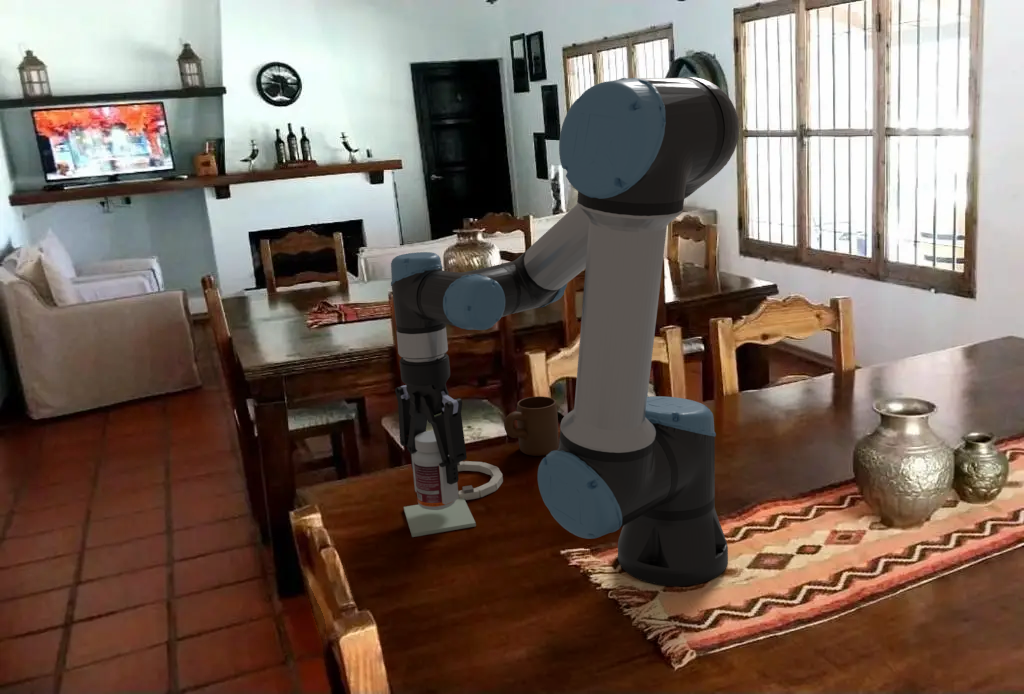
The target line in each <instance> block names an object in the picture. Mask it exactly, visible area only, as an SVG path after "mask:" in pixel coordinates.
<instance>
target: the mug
mask: <svg viewBox="0 0 1024 694" xmlns="http://www.w3.org/2000/svg"><path fill="white" fill-rule="evenodd" d="M558 419H559V417H558V406H557V401H556V399H554V398H552V397H548V396H528V397H525V398H522V399H520V400H519V401H517V402H516V410H515V411H512V412H509V414H508V415H506V417H505V418H504V423H503V426H504V427H503V428H504V431H505V433H506V434H507V436H509V437H510V438H511V439H518V445H519V446H518V448H519V451H520V452H521V453H523V454H524V455H528V456H534V457H539V456H540V457H541V456H542V457H543V456H547V455H548V454H549V453H550V452H551V451H555V450H558V448H559V438H560V436H559V420H558ZM515 421H516V425H517V428H514V422H515Z"/></svg>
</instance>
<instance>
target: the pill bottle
mask: <svg viewBox="0 0 1024 694" xmlns="http://www.w3.org/2000/svg"><path fill="white" fill-rule="evenodd" d="M415 447H416V450H417V452H416V453H415V454H414V468H415V478H416V488H417V492H416V495H417V503H418V504H419V505H420V506H421V507H422V508H424V509H428V510H441V509H445V508H448V507H450V506H451V505H453V504H454V503H455V501H456V500H455V501H452V502H450V503H448V504H446V505H445V504H443V503H442V493H441V482H440V471H439V463H442V459H441V455H440V452H439V448H438V445H437V441H436V438H435V434H434V431H433V430H426V432H422V433H420V434H418V435H417V436H416V437H415ZM448 456H449V455H448ZM418 504H417V505H418Z"/></svg>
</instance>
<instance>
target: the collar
mask: <svg viewBox="0 0 1024 694" xmlns="http://www.w3.org/2000/svg"><path fill="white" fill-rule="evenodd" d="M457 466H458V472H463V471H466V472H468V471H469V472H480V473H483V474H485V475H489V476H490V477H491V478H490V480H489V481H488V482H486V483H483V484H482V485H480V486H477V487H473V485H472V484H471V485H465V486H462V487H461V488H462V489H461V490H458V496H459V498H461V497H464V499H465V501H469V500H475V499H480V498H483V497H485V496H487V495H490V494H492V493H494V492H496V491H497V490H498V489H499V488H500V487H501V485H502V484H503V483H504V477H503V476H504V475H503V473H502V471H501V470H500V468H499V467H498V466H496V465H493V464H490V463H487V462H483V461H469V460H463V461H461V462H459V463H457Z"/></svg>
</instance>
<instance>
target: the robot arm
mask: <svg viewBox="0 0 1024 694" xmlns="http://www.w3.org/2000/svg"><path fill="white" fill-rule="evenodd" d="M739 126H740V124H739V118H738V114H737V110H736V108H735V105H734V103H733V102H732V100H731V98H730V97H729V95H728V94H727V93H725V92H724V91H723V89H722V88H721V87H719V85H716V84H714V83H712V82H711V81H709V80H707V79H704V78H700V77H694V76H679V77H652V78H651V77H649V78H648V77H647V78H646V77H644V78H642V77H640V78H639V77H627V78H626V77H621V78H619V79H615V80H609V81H603V82H600V83H597V84H594V85H592V86H591V87H589V88H587V89H586V90H585V91H584V92H583V93H582V94H580V96H579V97H578V98H576V99H575V101H574V102H573V103H572V104H571V106H570V108H569V109H568V111H567V113H566V115H565V117H564V120H563V122H562V125H561V130H560V134H559V142H558V143H559V144H558V152H559V160H560V166H561V168H562V169H564V170H565V171H566V174H565V178H566V180H567V181H568V182H569V184H570V185H571V186H572V187H573V188H574V189H575V190H576V191H577V200H576V201H577V202H576V204H575V206H573V207H572V208H571V209H570V210H569V211H568V212H566V214H564V216H563V217H561V218H559V220H558V221H557V222H556V223H555V224H554V225H553V226H551V227H550V228H549V229H548V230H547V231H546V232H545V233H543V234H542V236H541V237H539V238H538V239H537V240H536V241H535V242H534V243H533V244H532V245H531V246H529V248H527V250H525V251H524V252H523V253H522V254H521V255H520V256H519V257H517V258H516V259H515V260H512V261H509V262H508V261H507V262H504V263H501V264H496V265H493V266H487V267H483V268H477V269H474V270H468V271H463V272H457V271H456V272H455V271H446V270H443V264H442V260H441V257H440V255H439V254H437V253H435V252H430V251H429V252H428V251H423V252H422V251H421V252H420V251H419V252H418V251H417V252H410V253H409V252H408V253H403V254H398V255H397V256H395V257H393V259H392V260H391V262H390V273H391V281H390V286H391V293H392V301H393V309H394V319H395V326H396V343H397V354H398V355H399V357H401V358H400V359H399V369H400V380H401V381H402V383H404V384H405V385H404V384H403V385H401V386H397V387H395V389H394V392H395V395H396V399H397V408H398V427H399V443H400V445H401V446H402V447H406V448H407V451H408V452H409V454H410V462H411V463H410V464H411V465H410V466H411V469H412V472H413V473H412V475H413V484H414V492H415V493H417V488H416V478H415V468H414V454H415V453H416V452H417V450H416V447H415V437H416V436H417V435H418V434H420V433H422V432H426V431H427V426H428V425H427V424H428V423H429V424H430V425H431V427H432V431H434V434H435V438H436V441H437V445H438V448H439V452H440V455H441V459H442V463H439V471H440V482H441V493H442V503H443V504H445V505H446V504H448V503H450V502H452V501H455V500H457V499H459V496H458V491H459V486H458V482H459V471H458V466H457V463H459V462H461V461H463V462H464V461H467V458H468V456H467V455H468V454H467V449H466V442H465V441H466V440H465V434H464V433H465V432H464V426H463V417H462V410H463V409H462V408H463V401H462V399H461V398H456V399H454V398H452V397H451V396H450V395H449V394H450V393H449V391H448V388H447V382H448V380H449V378H450V377H451V367H450V366H451V365H450V356H449V355H448V354H447V352H448V350H449V345H448V344H449V343H448V336H447V335H448V334H447V326H448V325H449V326H454V327H456V328H460V329H461V330H462V329H463V330H467V331H473V330H476V331H486V330H489V329H492V328H493V327H494V326H495V325H496V324H497V322H499V321H500V320H501V318H503V317H506V316H509V315H512V314H518V313H522V312H525V311H529V310H530V311H531V310H534V309H539V308H544V307H546V306H547V305H549V304H553V303H556V302H557V301H559V300H560V299H562V297H563V296H564V294H565V291H566V289H567V286H568V283H569V282H571V281H572V280H574V278H576V277H577V276H578V275H579V274H580V273H581V272H583V271H584V284H583V295H582V296H583V297H582V309H581V321H580V333H579V344H578V356H577V357H578V358H577V370H576V383H575V384H576V385H575V395H574V407H573V409H572V410H570V411H569V412H568V413H566V414H565V415H564V416H563V418H561V422H560V424H559V425H560V427H559V429H560V430H559V446H558V449H557V450H555V451H551V452H550V453H549V454H548V455H545V457H543V458H542V459H541V461H540V463H539V465H538V468H537V485H538V490H539V493H540V496H541V498H542V501H543V503H544V505H545V506H546V507H547V509H548V511H549V512H550V515H551V516H552V517H553V519H554V520H555V521H556V522H557V523H558V524H559V526H561V527H562V528H563V529H565V530H566V531H567V532H569V533H571V534H572V535H573V536H576V537H579V538H582V539H587V540H589V539H591V540H592V539H597V538H600V537H602V536H606V535H608V534H610V533H611V534H612V533H615V532H617V531H618V530H620V529H621V531H620V535H619V537H618V540H617V541H618V542H617V560H618V563H619V565H620V567H621V568H622V569H623V570H624V572H626V573H627V574H629V575H630V576H632V577H633V578H636V579H638V580H640V581H643V582H647V583H650V584H655V585H658V586H665V587H666V586H667V587H668V586H669V587H670V586H671V587H682V586H683V587H684V586H686V587H687V586H692V585H698V584H702V583H706V582H709V581H711V580H714V579H715V578H717V577H718V576H720V575H721V574H722V573H723V572H724V571H725V570H726V568H727V566H728V564H729V561H728V560H729V551H728V550H729V548H728V547H729V546H728V542H727V539H726V536H725V534H724V531H723V528H722V525H721V521H720V520H719V517H718V514H717V511H716V508H715V503H716V502H715V499H716V498H715V497H716V494H715V492H716V491H715V490H716V489H715V483H716V482H715V475H716V474H715V473H716V472H715V466H716V465H715V460H716V459H715V453H716V452H715V449H716V448H715V447H716V446H715V445H716V443H715V441H716V440H715V439H716V438H715V437H717V433H716V432H715V422H714V421H715V420H714V413H713V412H712V411H711V409H710V408H709V407H708V406H707V405H705V404H703V403H701V402H699V401H695V400H692V399H689V398H688V399H687V398H683V397H674V396H661V395H660V396H659V395H658V396H655V395H654V396H652V395H651V396H648V394H649V387H650V385H649V384H650V378H651V377H650V376H651V370H652V369H651V368H652V360H653V351H654V342H655V333H656V325H657V316H658V309H659V308H658V307H659V301H660V300H659V297H660V292H661V291H660V289H661V283H662V282H661V280H662V273H663V263H664V256H665V255H664V254H665V246H666V237H667V227H668V226H669V224H670V223H671V222H672V221H673V220H675V219H676V218H678V216H680V215H681V214H682V213H683V211H684V202H685V199H687V198H689V197H691V195H692V194H694V193H695V192H696V191H697V190H698V189H700V188H701V187H703V185H705V184H706V183H708V182H710V180H712V179H713V178H714V177H716V176H717V175H718V174H719V173H720V172H721V171H722V169H724V167H726V165H727V164H728V163H729V161H730V160H731V158H732V157H733V155H734V153H735V150H736V147H737V145H738V141H739V135H740V127H739ZM448 455H449V456H448Z"/></svg>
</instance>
